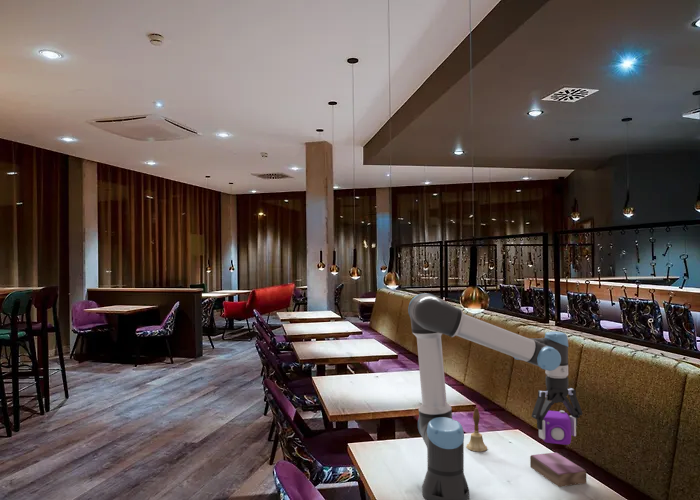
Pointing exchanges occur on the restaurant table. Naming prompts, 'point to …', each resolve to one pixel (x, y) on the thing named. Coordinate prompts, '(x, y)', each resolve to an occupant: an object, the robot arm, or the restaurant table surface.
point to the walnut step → (558, 469)
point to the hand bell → (476, 436)
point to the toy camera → (557, 427)
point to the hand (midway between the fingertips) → (557, 436)
